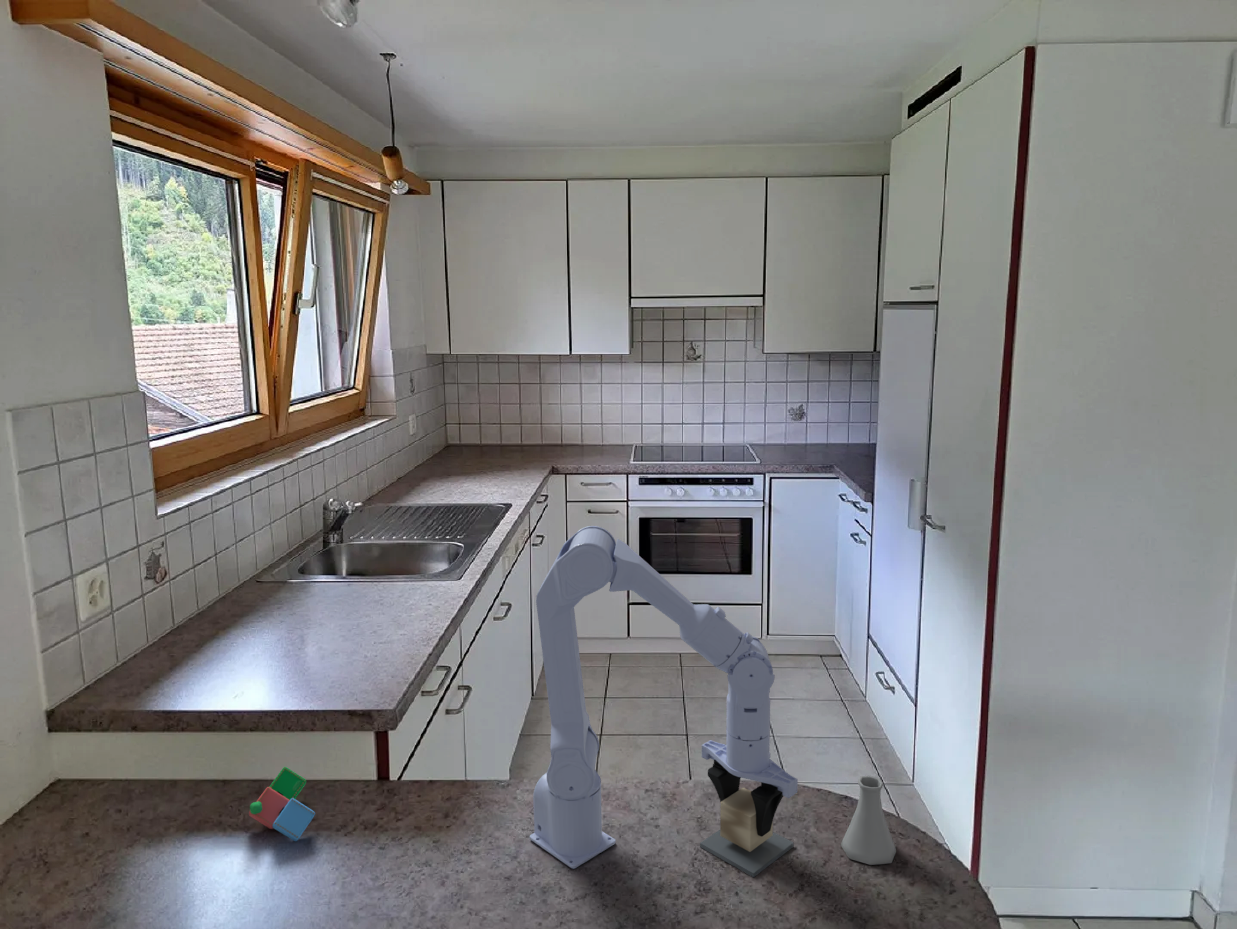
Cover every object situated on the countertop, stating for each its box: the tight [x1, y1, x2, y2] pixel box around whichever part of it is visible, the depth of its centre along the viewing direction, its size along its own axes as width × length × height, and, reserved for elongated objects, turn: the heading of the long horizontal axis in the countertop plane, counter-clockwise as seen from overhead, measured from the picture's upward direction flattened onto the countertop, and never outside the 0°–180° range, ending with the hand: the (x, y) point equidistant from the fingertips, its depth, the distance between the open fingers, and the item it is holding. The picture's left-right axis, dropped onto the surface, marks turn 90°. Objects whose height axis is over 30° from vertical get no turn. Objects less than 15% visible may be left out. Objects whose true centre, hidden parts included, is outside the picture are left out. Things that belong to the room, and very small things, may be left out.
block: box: [719, 787, 774, 852], centre depth 113 cm, size 5×5×5 cm
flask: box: [840, 775, 897, 866], centre depth 112 cm, size 7×7×10 cm
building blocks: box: [248, 766, 316, 842], centre depth 120 cm, size 8×8×12 cm
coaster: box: [699, 829, 795, 878], centre depth 114 cm, size 9×9×1 cm
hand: (747, 823), depth 113 cm, fingers closed on block, 5 cm apart
